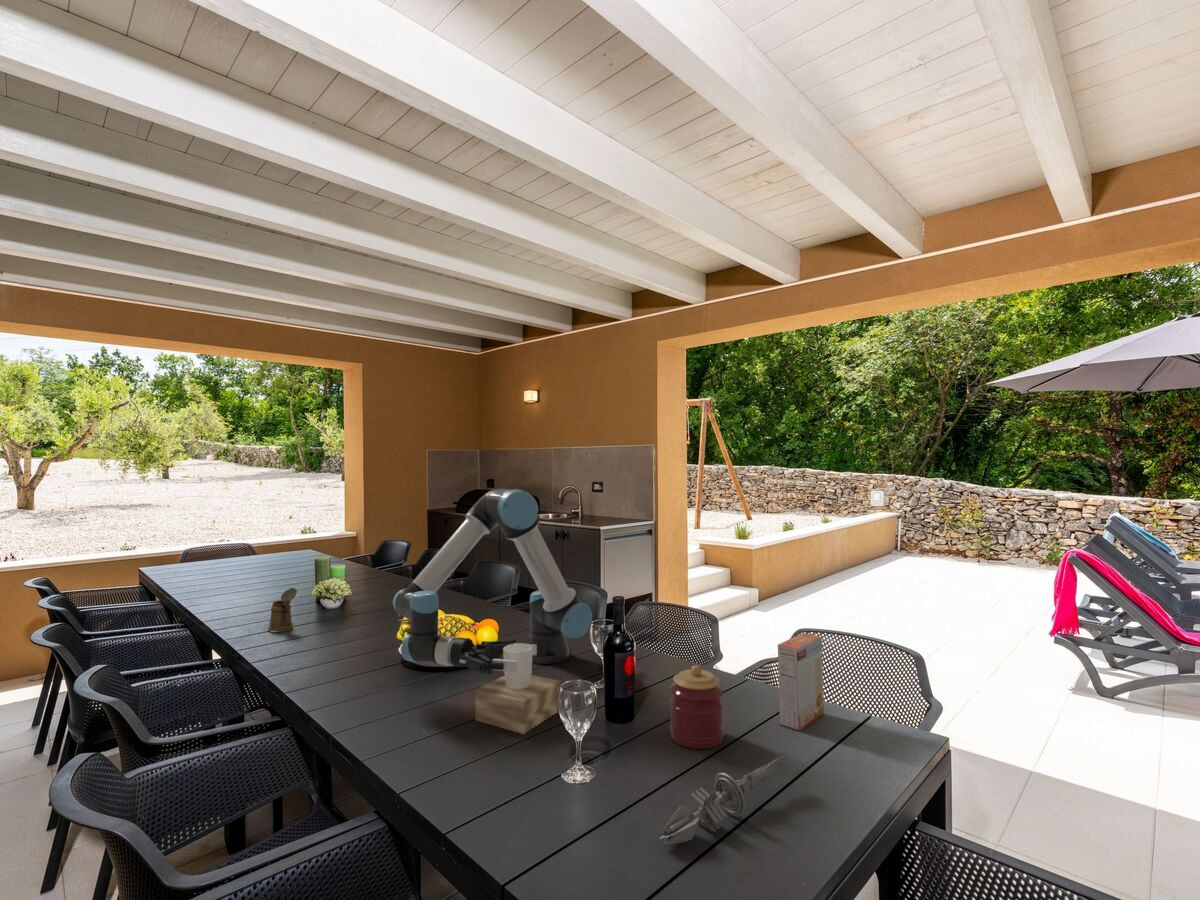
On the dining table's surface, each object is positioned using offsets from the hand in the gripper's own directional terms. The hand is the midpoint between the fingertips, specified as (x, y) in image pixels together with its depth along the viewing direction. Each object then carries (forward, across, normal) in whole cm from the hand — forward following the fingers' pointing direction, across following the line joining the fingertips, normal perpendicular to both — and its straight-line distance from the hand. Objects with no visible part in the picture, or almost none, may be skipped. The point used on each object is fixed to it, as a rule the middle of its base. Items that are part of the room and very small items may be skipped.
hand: (526, 657), depth 158 cm
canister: (+45, 0, -16) cm, 48 cm away
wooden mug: (-127, -49, -16) cm, 137 cm away
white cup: (-3, 0, -8) cm, 8 cm away
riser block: (-2, 0, -16) cm, 16 cm away
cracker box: (+70, -16, -16) cm, 74 cm away
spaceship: (+55, +30, -16) cm, 65 cm away
